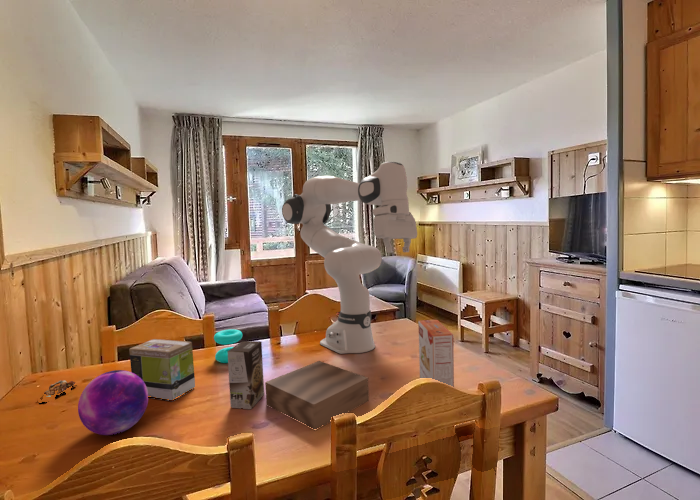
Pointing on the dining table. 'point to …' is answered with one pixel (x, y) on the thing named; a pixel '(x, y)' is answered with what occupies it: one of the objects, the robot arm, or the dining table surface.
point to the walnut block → (317, 393)
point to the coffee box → (245, 374)
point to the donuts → (226, 342)
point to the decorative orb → (113, 402)
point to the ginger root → (58, 387)
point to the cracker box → (436, 352)
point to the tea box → (164, 367)
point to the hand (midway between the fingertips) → (398, 252)
